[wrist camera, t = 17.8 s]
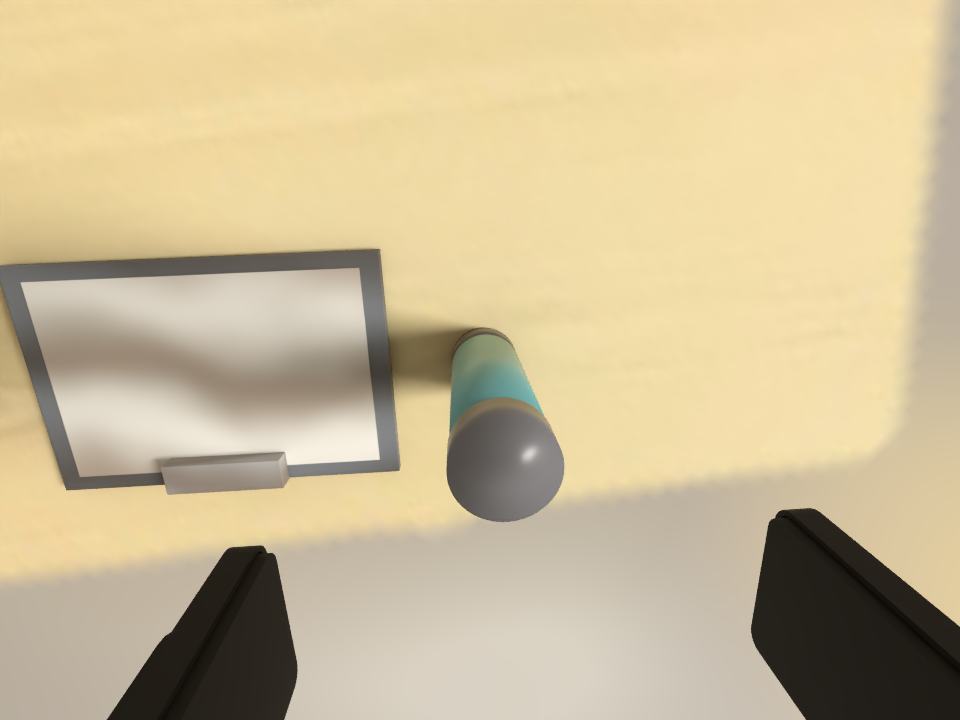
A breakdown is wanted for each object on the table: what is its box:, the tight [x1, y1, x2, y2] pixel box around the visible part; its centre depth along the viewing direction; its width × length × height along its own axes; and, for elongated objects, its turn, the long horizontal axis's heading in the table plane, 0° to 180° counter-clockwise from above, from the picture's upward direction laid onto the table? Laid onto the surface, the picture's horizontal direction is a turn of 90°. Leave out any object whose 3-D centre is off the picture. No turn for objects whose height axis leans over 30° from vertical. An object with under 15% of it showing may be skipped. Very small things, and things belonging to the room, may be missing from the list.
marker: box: [447, 328, 564, 522], centre depth 20 cm, size 4×4×12 cm
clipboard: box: [0, 249, 400, 495], centre depth 24 cm, size 12×18×2 cm, turn 92°
